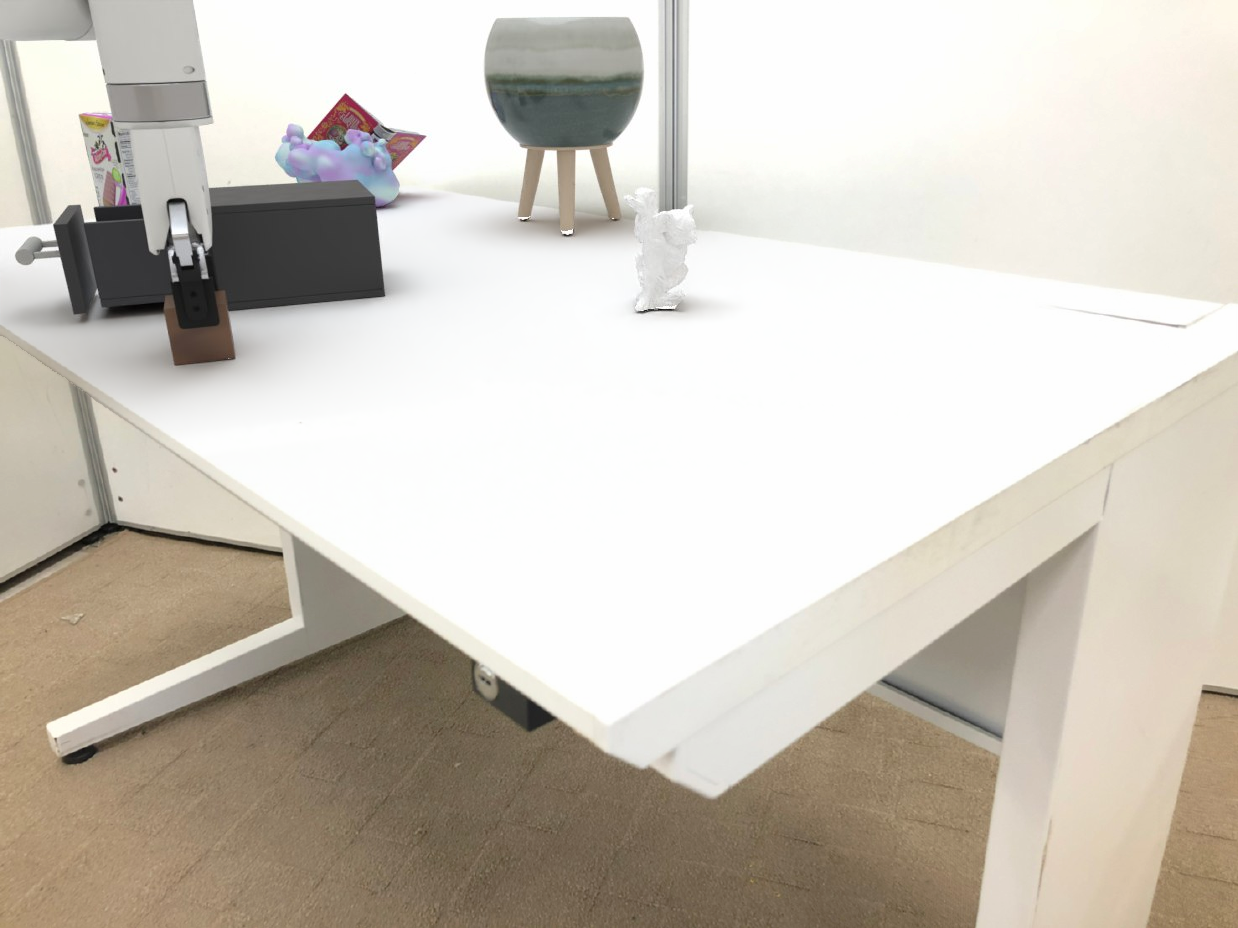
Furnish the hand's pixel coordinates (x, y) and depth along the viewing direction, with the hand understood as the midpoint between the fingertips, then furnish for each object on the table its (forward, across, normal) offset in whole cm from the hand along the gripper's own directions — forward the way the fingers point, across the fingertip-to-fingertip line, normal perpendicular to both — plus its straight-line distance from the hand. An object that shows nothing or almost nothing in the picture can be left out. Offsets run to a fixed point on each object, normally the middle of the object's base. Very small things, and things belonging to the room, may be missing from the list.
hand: (200, 313), depth 88 cm
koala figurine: (+4, 0, +44) cm, 44 cm away
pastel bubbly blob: (+4, -81, +23) cm, 84 cm away
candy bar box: (+3, -63, -9) cm, 64 cm away
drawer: (+3, -22, -7) cm, 23 cm away
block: (+4, 0, 0) cm, 4 cm away
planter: (+4, -48, +50) cm, 69 cm away
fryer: (+4, -22, +10) cm, 25 cm away
